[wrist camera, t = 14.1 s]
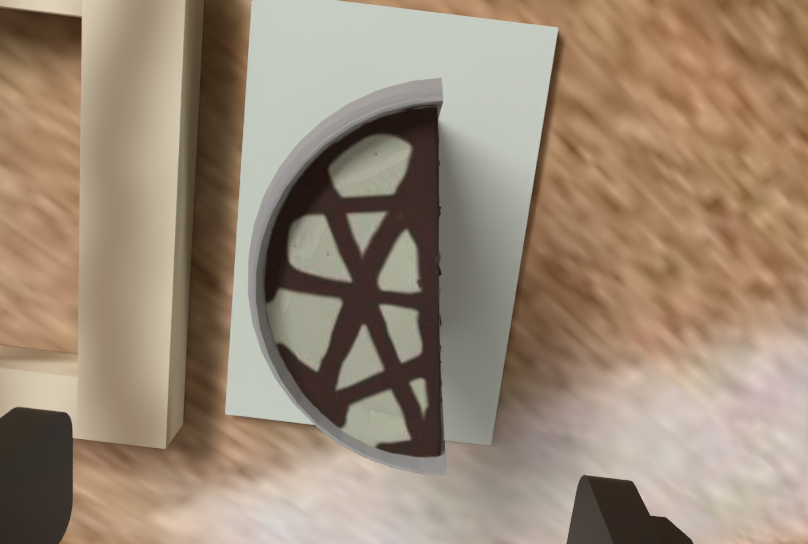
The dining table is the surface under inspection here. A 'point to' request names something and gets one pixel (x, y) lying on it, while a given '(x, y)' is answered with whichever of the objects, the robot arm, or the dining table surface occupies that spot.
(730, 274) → the dining table surface
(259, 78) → the mat
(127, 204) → the frame
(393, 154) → the patterned half cylinder
